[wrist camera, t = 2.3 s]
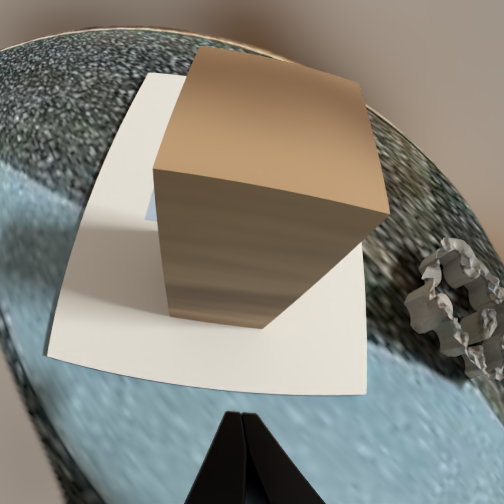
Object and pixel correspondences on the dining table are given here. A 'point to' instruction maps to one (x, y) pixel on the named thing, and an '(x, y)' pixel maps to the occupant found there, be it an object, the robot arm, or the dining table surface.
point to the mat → (155, 300)
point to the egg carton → (472, 326)
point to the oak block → (261, 186)
